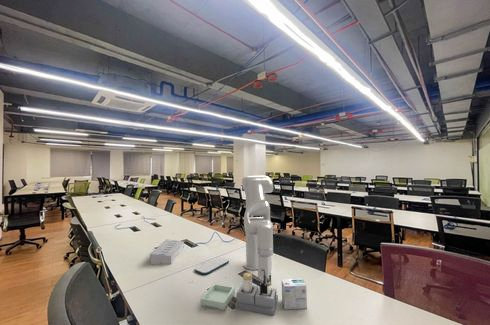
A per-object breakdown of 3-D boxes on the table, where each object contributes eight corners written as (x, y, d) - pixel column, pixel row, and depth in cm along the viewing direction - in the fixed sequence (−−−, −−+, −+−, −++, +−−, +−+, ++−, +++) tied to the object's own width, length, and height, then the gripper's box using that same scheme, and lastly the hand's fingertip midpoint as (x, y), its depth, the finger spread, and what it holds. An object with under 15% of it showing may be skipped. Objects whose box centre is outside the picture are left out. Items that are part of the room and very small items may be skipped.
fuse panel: (242, 293, 111) (242, 281, 111) (277, 299, 105) (277, 287, 106) (235, 308, 99) (234, 295, 99) (273, 315, 94) (273, 301, 94)
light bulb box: (303, 300, 105) (302, 277, 105) (307, 309, 98) (307, 285, 98) (281, 300, 104) (280, 278, 105) (284, 310, 98) (283, 285, 98)
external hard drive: (205, 277, 129) (205, 273, 129) (192, 271, 136) (192, 268, 136) (230, 262, 148) (230, 259, 148) (218, 258, 155) (218, 256, 155)
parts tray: (213, 290, 115) (213, 283, 115) (235, 293, 111) (234, 286, 111) (200, 306, 101) (200, 298, 101) (224, 310, 98) (224, 303, 98)
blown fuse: (262, 297, 104) (262, 274, 104) (271, 299, 102) (271, 275, 103) (260, 303, 100) (259, 279, 100) (270, 304, 98) (269, 280, 98)
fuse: (244, 294, 106) (244, 272, 107) (253, 296, 105) (253, 273, 105) (242, 299, 102) (241, 276, 103) (251, 301, 101) (250, 277, 101)
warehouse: (171, 264, 147) (171, 253, 147) (150, 265, 147) (150, 254, 147) (183, 248, 177) (183, 239, 177) (166, 248, 177) (166, 239, 177)
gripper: (261, 243, 111) (262, 277, 111) (252, 257, 94) (253, 297, 94) (275, 244, 109) (276, 279, 108) (269, 258, 92) (270, 300, 92)
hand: (265, 287), depth 101 cm, fingers open, 8 cm apart
